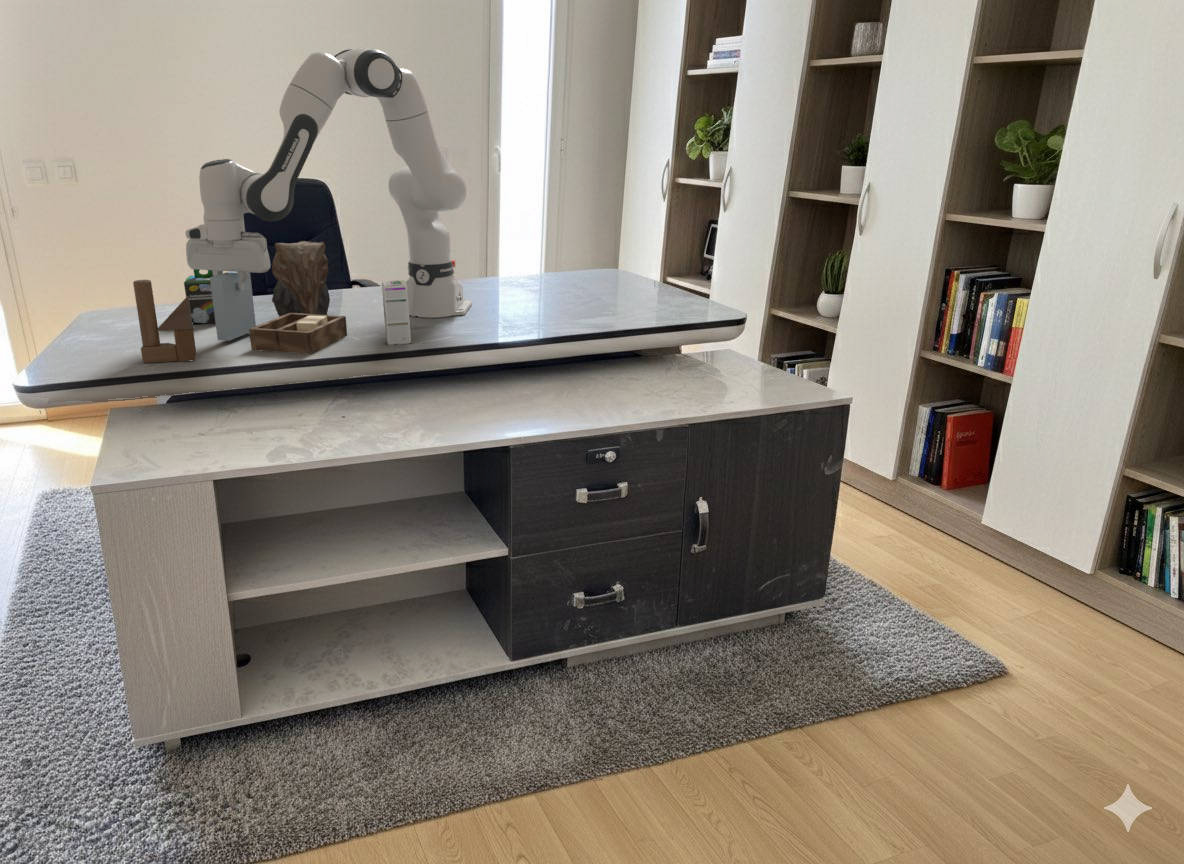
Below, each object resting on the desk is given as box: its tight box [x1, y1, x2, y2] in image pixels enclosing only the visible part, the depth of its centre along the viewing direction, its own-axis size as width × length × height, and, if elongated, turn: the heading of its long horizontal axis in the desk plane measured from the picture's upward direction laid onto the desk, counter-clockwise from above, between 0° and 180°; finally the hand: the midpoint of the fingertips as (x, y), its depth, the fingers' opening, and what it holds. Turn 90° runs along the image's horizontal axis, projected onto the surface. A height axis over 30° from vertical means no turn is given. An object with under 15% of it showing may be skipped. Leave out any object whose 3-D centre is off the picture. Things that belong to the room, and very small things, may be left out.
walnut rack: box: [249, 313, 348, 355], centre depth 224 cm, size 18×15×5 cm
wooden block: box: [132, 279, 197, 364], centre depth 205 cm, size 4×11×18 cm, turn 105°
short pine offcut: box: [296, 316, 327, 331], centre depth 222 cm, size 8×5×2 cm, turn 176°
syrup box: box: [381, 280, 412, 346], centre depth 224 cm, size 6×6×14 cm
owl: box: [271, 240, 331, 317], centre depth 247 cm, size 13×13×20 cm
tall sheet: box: [210, 271, 257, 341], centre depth 225 cm, size 12×3×15 cm, turn 168°
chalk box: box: [183, 269, 216, 324], centre depth 243 cm, size 9×9×15 cm
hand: (232, 289), depth 224 cm, fingers closed on tall sheet, 3 cm apart
